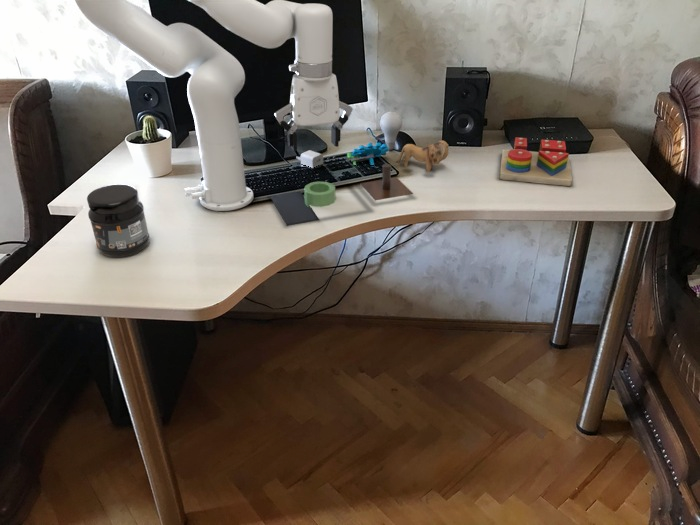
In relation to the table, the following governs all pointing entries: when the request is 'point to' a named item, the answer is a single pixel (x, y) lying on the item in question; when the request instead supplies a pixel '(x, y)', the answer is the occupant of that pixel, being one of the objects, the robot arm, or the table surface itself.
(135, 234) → the supplement container
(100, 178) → the table surface
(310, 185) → the ring
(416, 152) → the lion figurine
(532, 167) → the shape sorter
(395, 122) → the lightbulb
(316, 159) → the usb wall charger
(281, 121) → the robot arm
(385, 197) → the stand
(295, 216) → the mat
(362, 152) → the dinosaur figurine
